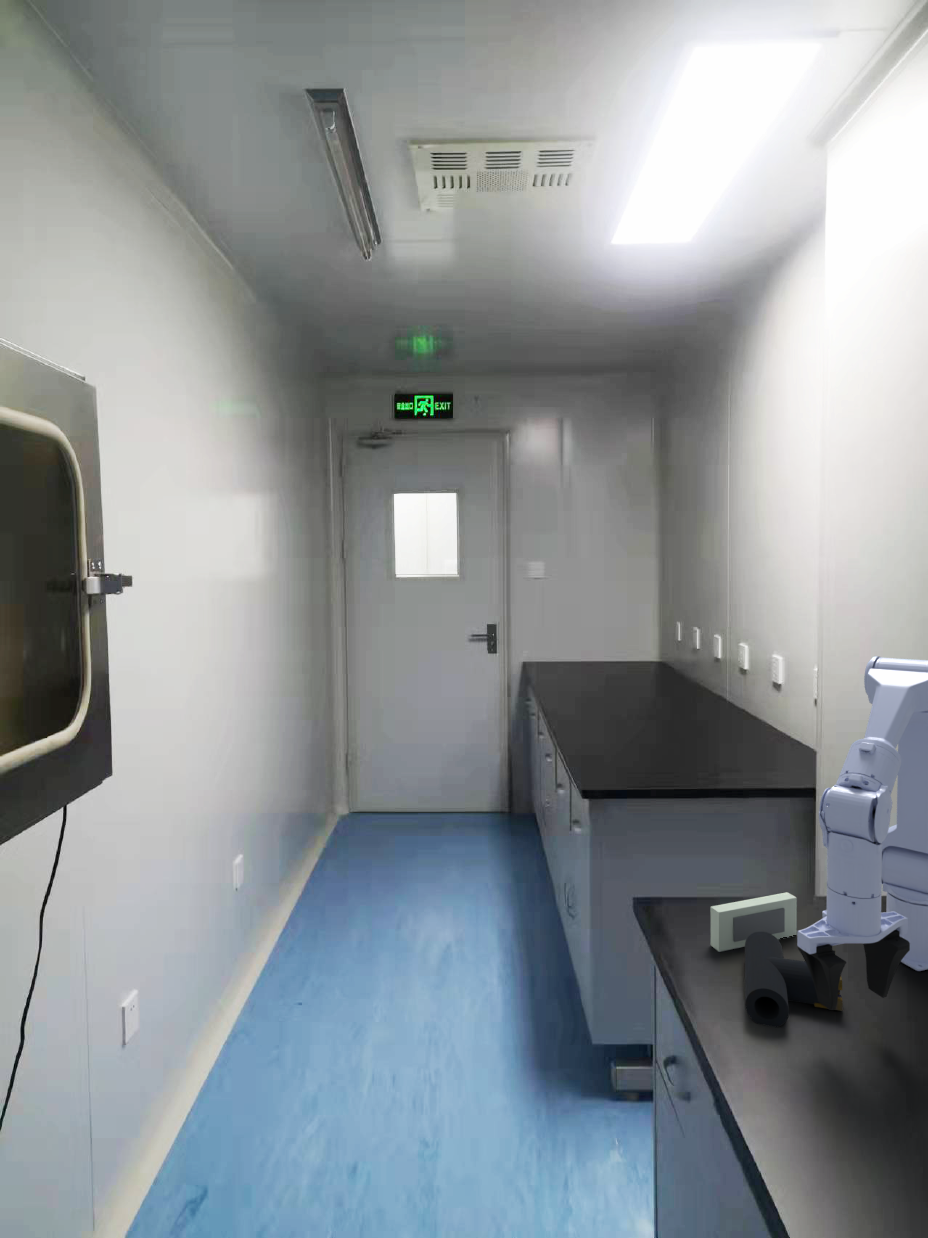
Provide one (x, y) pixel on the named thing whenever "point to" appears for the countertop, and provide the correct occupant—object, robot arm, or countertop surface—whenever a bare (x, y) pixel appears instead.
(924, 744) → the robot arm
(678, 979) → the countertop surface
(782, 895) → the block
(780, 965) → the pipe connector
